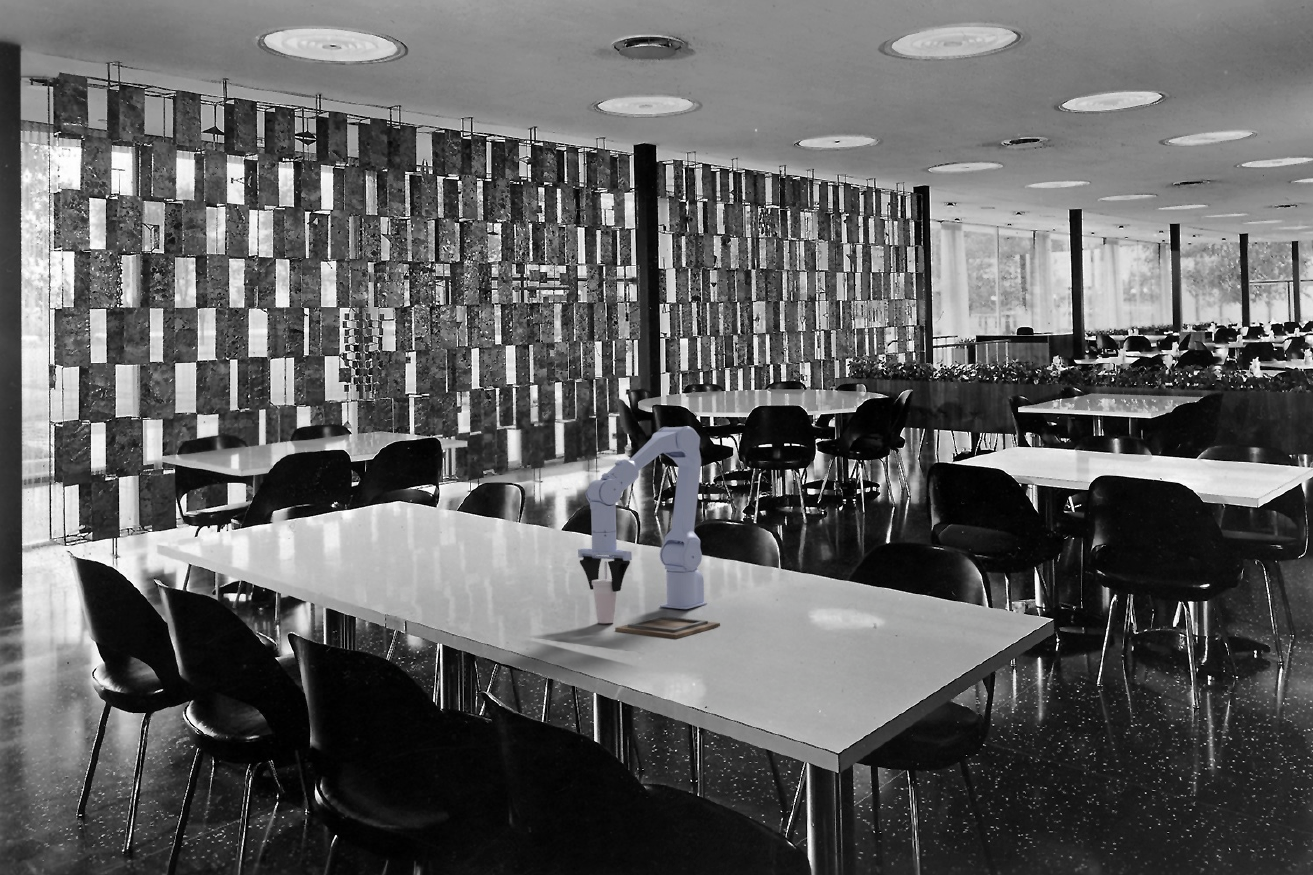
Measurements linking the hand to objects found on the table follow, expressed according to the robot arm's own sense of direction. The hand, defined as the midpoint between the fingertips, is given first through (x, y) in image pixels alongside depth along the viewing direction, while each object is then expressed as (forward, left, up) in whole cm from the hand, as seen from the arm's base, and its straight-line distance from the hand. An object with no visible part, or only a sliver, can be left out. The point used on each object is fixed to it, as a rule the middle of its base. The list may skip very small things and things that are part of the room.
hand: (605, 590), depth 244 cm
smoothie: (0, 0, -8) cm, 8 cm away
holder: (-4, +15, -8) cm, 18 cm away
